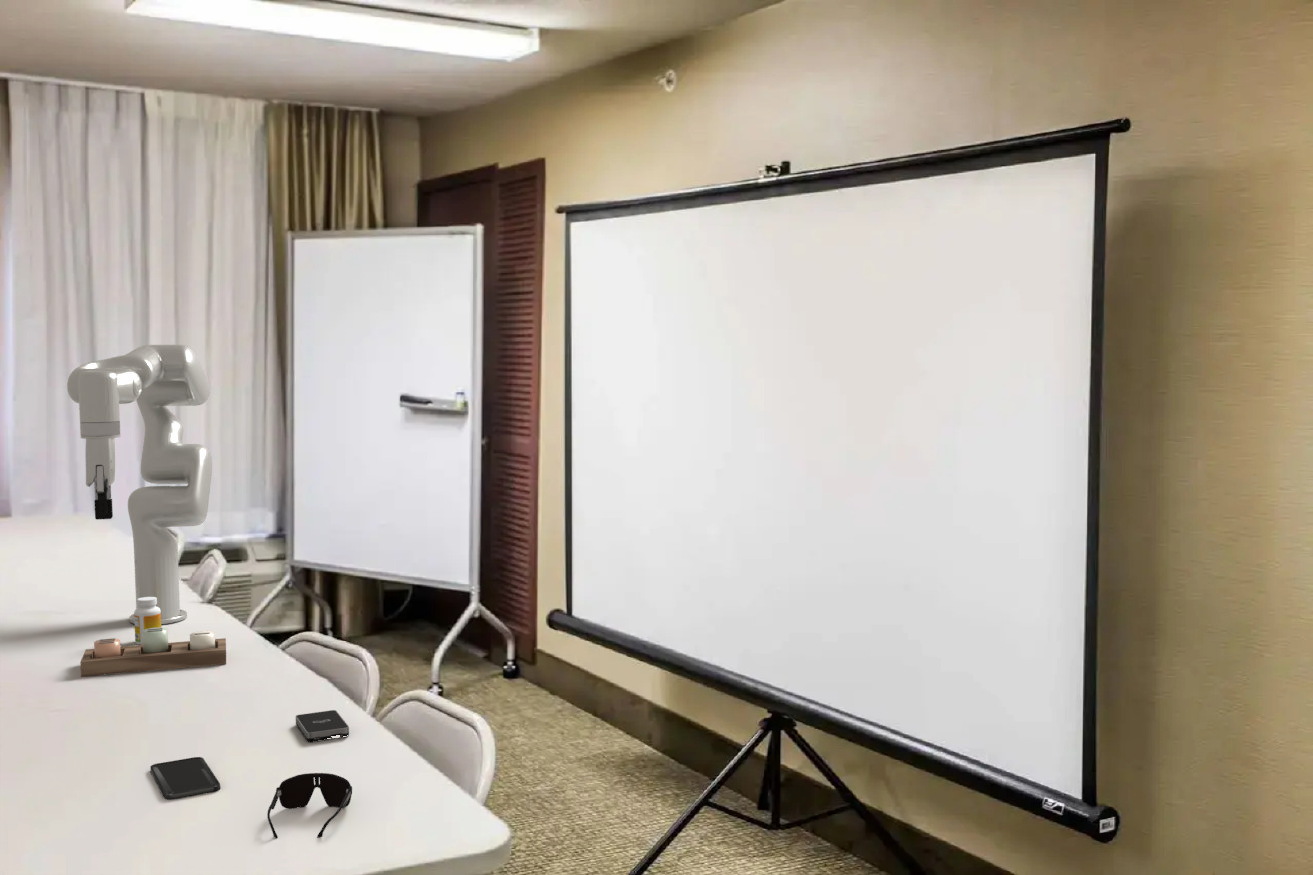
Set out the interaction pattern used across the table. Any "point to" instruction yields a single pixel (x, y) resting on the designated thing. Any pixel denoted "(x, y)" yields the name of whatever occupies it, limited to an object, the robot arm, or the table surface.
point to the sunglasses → (301, 790)
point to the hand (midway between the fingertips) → (104, 518)
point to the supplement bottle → (146, 617)
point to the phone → (184, 778)
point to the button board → (153, 659)
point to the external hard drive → (321, 725)
